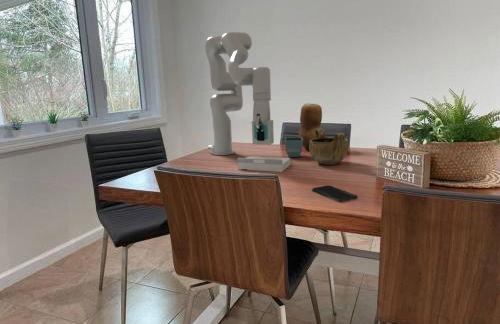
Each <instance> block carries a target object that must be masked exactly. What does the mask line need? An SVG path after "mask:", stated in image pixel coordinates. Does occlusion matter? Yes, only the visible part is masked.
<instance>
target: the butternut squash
mask: <svg viewBox="0 0 500 324" xmlns="http://www.w3.org/2000/svg"><path fill="white" fill-rule="evenodd" d="M322 109H323V108H322V107H321V105H319V104H318V103H308V102H307V103H305V104H303V105H302V106H301V108H300V116H299V122H300V123H299V124H300V128H299V133H298V136H297V138H302V139H303V145H302V147H304V149H306V150H308V151H310V149H309V143H310V140H311V139H314V138H316V134H315V131H316V129H322V127H321V125H322V120H323V111H322Z"/></svg>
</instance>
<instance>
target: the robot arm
mask: <svg viewBox="0 0 500 324" xmlns="http://www.w3.org/2000/svg"><path fill="white" fill-rule="evenodd" d="M252 41H253V40H252V37H251V36H250V34H249V33H247V32H240V31H239V32H238V31H228V32H225V33H224V34H222V35H214V36H210V37H208V38H207V39H206V40H205V46H204V49H205V55H206V59H207V61H208V64H209V72H210V73H209V74H210V84H211V89H212V90H213V91H214V92H229V91H230V92H229V93H216V94H214V95H212V96H211V97H210V99H209V105H210V109H211V116H212V128H213V129H212V131H213V144H212V145H211V144H210V145H208V146H207V148H208V150H212V151H211V154H212V155H214V156H229V155H233V154H236V150H234V149H233V142H232V141H233V138H232V122H231V121H232V120H231V118H230V115H228V114H227V113H229V112H230V113H231V112H238V111H241V110H242V108H243V104H244V102H243V101H244V97H243V88H242V87H243V86H252V101H253V106H252V110H253V111H252V121H253V124H255V123H256V124H255V125H256V128H257V141H264V140H265V139H264V131H263V130H264V124H265V121H268V120H271V106H270V101H271V100H272V98H271V96H272V95H271V93H272V92H271V91H272V90H271V69H270V67H267V66H262V67H261V66H260V67H240V66H241V65H242V64H244V63H246V61H247V60H248V58H249V50H250V49H251V48H252V43H253V42H252ZM222 55H228V57H229V61H228V64H227V63H226V61H225V59H224V57H222ZM227 65H228V66H227ZM227 67H228V68H227ZM227 70H228V71H227ZM259 123H262V124H259ZM261 126H262V128H261Z"/></svg>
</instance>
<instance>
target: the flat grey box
mask: <svg viewBox="0 0 500 324" xmlns="http://www.w3.org/2000/svg"><path fill="white" fill-rule="evenodd" d="M289 166H291V157H272V156H253V155H252V156H250V155H249V156H247V157H237V170H242V169H247V171H259V172H260V171H261V172H262V171H263V172H275V173H276V172H277V173H278V172H279V173H282V172H283V171H285V170H286V169H287V168H289Z"/></svg>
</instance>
